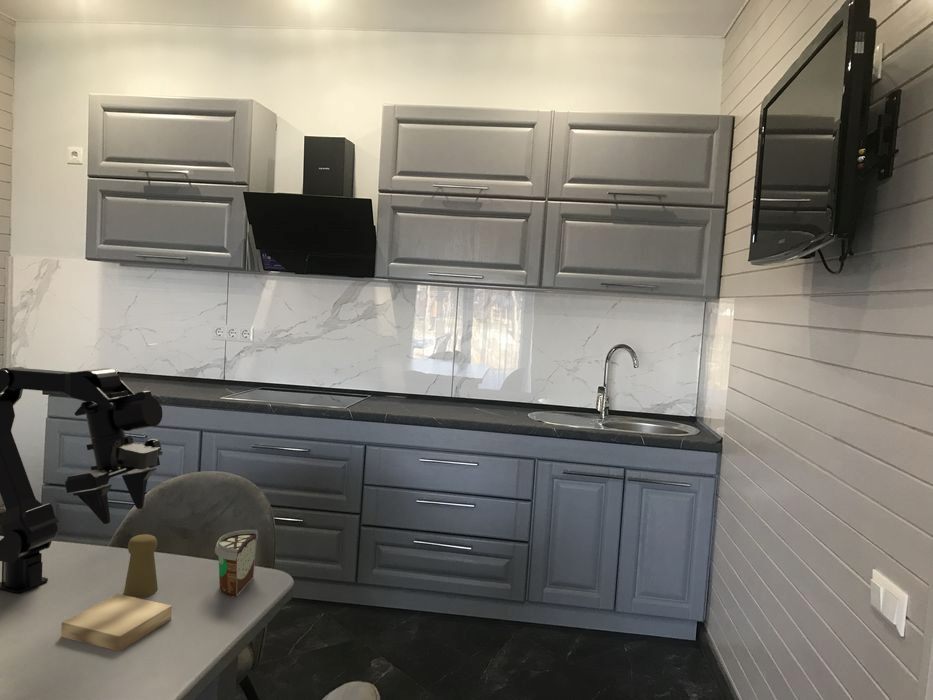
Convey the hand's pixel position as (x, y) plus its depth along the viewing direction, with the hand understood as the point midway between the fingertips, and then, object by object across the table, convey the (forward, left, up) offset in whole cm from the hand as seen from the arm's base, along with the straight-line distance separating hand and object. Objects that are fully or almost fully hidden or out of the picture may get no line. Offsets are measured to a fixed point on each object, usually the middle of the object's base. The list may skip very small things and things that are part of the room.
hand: (124, 515), depth 123 cm
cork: (0, +5, -17) cm, 17 cm away
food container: (+14, +14, -17) cm, 26 cm away
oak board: (+7, -8, -16) cm, 20 cm away
